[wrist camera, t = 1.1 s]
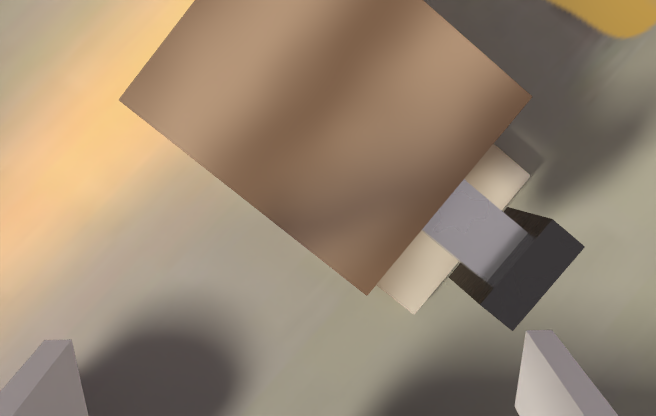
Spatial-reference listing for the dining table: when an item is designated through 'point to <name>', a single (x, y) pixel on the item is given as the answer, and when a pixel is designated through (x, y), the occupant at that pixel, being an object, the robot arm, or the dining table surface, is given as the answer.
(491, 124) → the block
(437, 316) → the dining table surface
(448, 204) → the shaft
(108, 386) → the dining table surface
